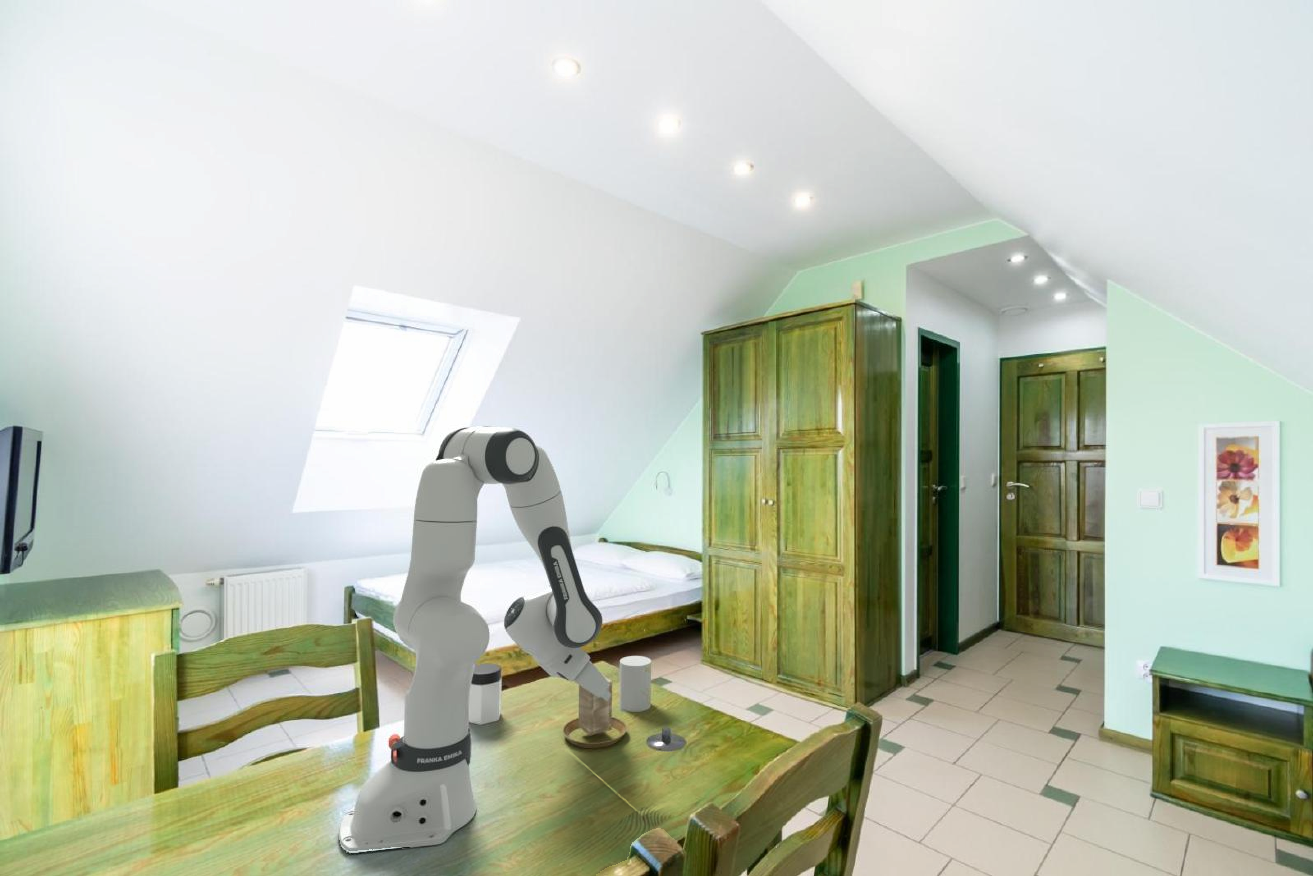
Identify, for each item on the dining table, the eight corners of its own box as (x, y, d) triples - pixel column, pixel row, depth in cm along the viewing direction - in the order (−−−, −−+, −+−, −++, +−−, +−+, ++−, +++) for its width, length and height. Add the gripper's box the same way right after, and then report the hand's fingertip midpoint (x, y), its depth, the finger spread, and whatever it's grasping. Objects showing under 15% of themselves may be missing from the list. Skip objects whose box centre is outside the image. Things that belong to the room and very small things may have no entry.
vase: (589, 735, 140) (590, 686, 141) (578, 726, 145) (579, 678, 145) (615, 728, 144) (615, 680, 144) (603, 720, 149) (604, 673, 149)
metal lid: (661, 757, 135) (661, 741, 135) (638, 741, 143) (638, 726, 143) (694, 747, 140) (694, 731, 140) (670, 732, 148) (670, 717, 148)
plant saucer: (624, 755, 137) (625, 743, 137) (557, 754, 137) (557, 742, 137) (628, 726, 152) (628, 715, 152) (567, 725, 152) (567, 714, 152)
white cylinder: (650, 714, 158) (650, 666, 158) (618, 714, 158) (618, 665, 158) (651, 701, 166) (651, 656, 166) (620, 701, 166) (620, 655, 167)
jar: (494, 708, 161) (495, 660, 161) (507, 718, 154) (508, 669, 155) (459, 716, 155) (460, 667, 156) (471, 728, 149) (472, 676, 149)
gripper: (531, 654, 147) (568, 688, 152) (570, 680, 130) (610, 718, 135) (549, 632, 150) (585, 666, 155) (590, 655, 133) (628, 692, 138)
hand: (597, 690), depth 145 cm, fingers open, 8 cm apart
